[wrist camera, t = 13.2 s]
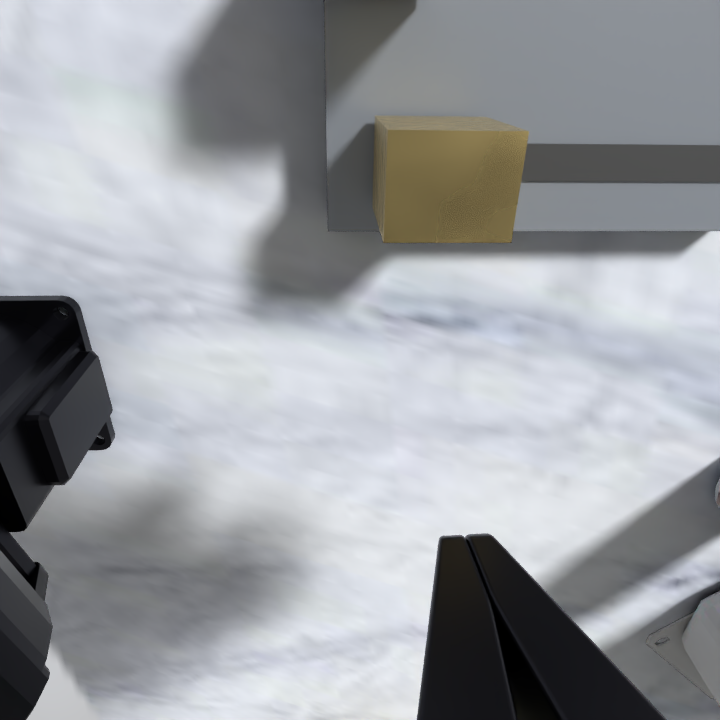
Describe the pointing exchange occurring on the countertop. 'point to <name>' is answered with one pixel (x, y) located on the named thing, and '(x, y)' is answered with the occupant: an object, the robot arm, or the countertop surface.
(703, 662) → the control panel
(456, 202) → the brushed brass brick
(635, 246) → the countertop surface
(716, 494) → the beer can
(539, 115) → the panel
